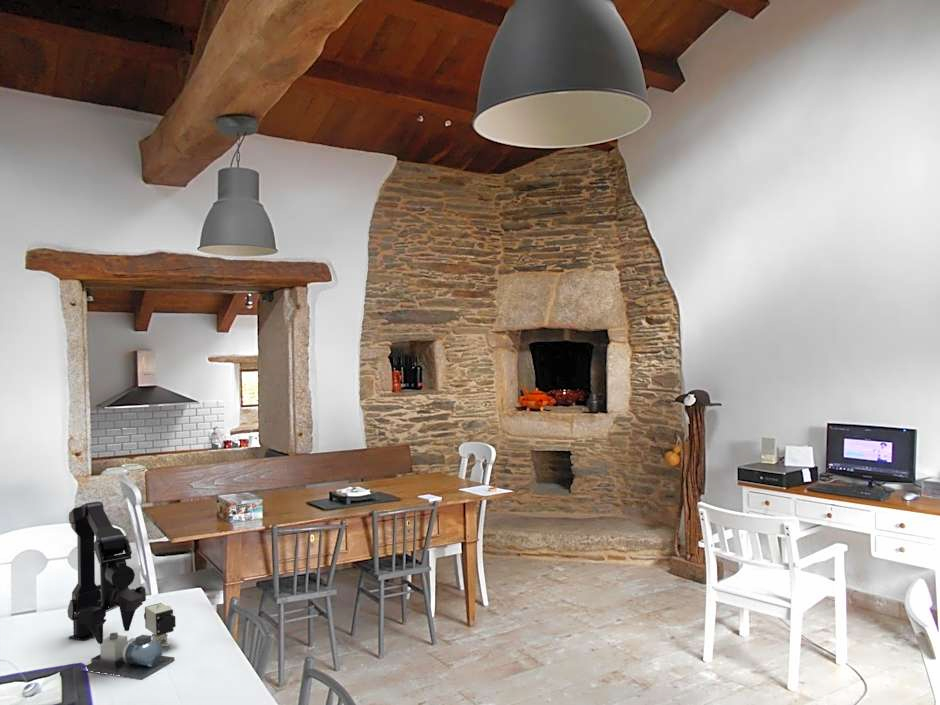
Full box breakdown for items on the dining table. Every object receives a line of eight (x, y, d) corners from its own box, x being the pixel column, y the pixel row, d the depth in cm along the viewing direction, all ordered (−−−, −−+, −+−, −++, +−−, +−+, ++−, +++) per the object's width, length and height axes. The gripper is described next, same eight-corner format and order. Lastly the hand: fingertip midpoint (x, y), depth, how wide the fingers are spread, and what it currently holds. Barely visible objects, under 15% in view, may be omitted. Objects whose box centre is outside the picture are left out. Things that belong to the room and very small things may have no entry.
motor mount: (82, 671, 197) (81, 639, 197) (117, 653, 208) (116, 623, 208) (141, 679, 190) (140, 647, 190) (174, 660, 201) (173, 630, 201)
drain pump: (100, 662, 199) (99, 636, 199) (113, 655, 204) (112, 630, 204) (115, 664, 198) (114, 637, 198) (127, 657, 202) (127, 631, 202)
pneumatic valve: (159, 653, 207) (158, 611, 207) (144, 642, 215) (142, 602, 215) (179, 648, 211) (177, 606, 211) (163, 637, 219) (161, 597, 219)
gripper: (108, 593, 189) (110, 653, 189) (160, 572, 207) (162, 627, 207) (74, 590, 193) (76, 649, 193) (129, 569, 210) (130, 623, 210)
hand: (113, 637), depth 201 cm, fingers open, 9 cm apart
